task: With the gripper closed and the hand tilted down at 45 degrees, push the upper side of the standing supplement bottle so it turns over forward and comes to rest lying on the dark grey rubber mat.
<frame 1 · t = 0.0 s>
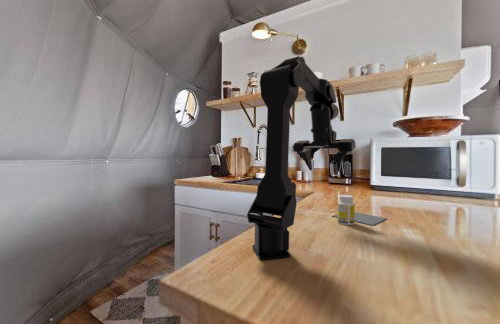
hand: (324, 171, 77), 15 cm above the counter, tool pointing down, fingers open, 9 cm apart
mat: (359, 217, 76), on the counter
supplement bottle: (345, 223, 71), on the counter
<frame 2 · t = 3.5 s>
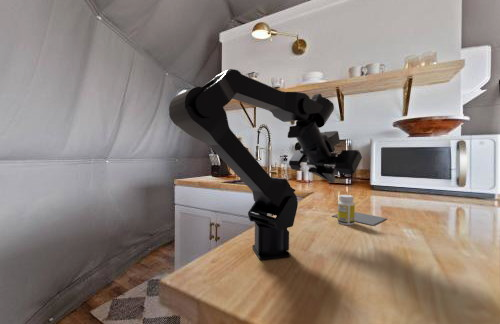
hand: (333, 181, 65), 13 cm above the counter, tool tilted 45°, fingers closed
nothing on the counter moved.
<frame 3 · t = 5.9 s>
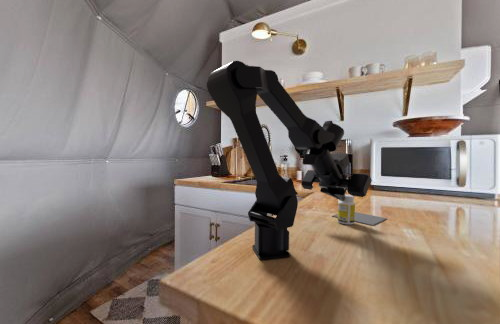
hand: (343, 199, 69), 7 cm above the counter, tool tilted 45°, fingers closed
supplement bottle: (345, 223, 71), on the counter, touching gripper
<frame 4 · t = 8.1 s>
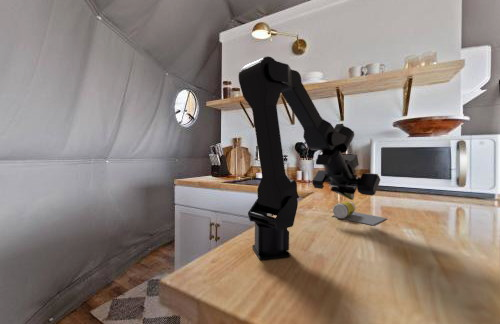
hand: (352, 198, 73), 7 cm above the counter, tool tilted 45°, fingers closed
supplement bottle: (339, 211, 74), point 3 cm above the counter, touching mat
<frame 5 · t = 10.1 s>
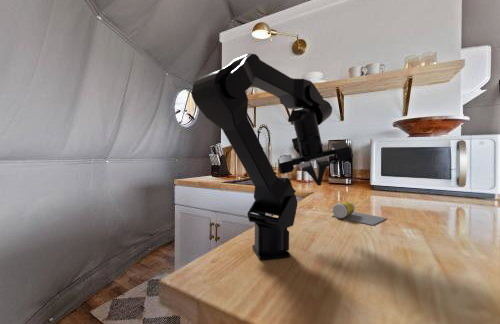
hand: (319, 184, 64), 12 cm above the counter, tool tilted 25°, fingers closed
nothing on the counter moved.
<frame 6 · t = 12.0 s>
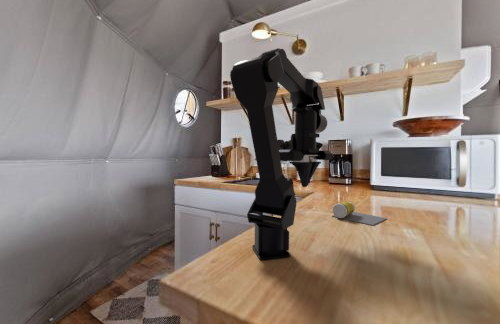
hand: (304, 186, 64), 12 cm above the counter, tool pointing down, fingers closed
nothing on the counter moved.
at the end: supplement bottle tilted 90°; supplement bottle inside the target area (8.9 cm from its centre), point 2.7 cm above the counter; the gripper is holding nothing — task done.
